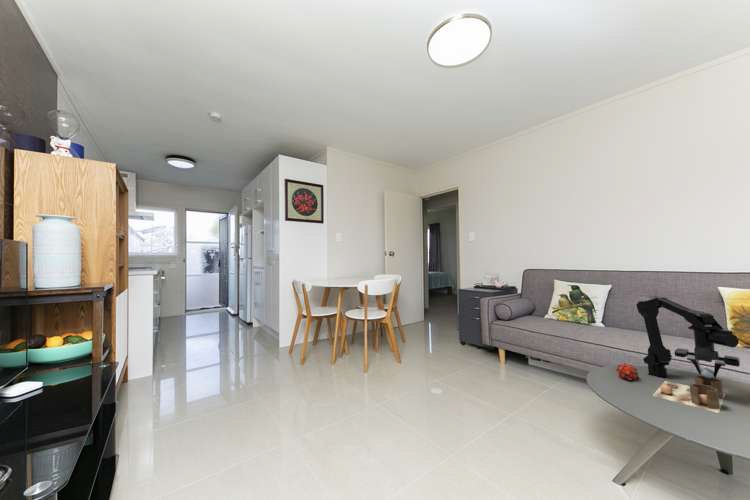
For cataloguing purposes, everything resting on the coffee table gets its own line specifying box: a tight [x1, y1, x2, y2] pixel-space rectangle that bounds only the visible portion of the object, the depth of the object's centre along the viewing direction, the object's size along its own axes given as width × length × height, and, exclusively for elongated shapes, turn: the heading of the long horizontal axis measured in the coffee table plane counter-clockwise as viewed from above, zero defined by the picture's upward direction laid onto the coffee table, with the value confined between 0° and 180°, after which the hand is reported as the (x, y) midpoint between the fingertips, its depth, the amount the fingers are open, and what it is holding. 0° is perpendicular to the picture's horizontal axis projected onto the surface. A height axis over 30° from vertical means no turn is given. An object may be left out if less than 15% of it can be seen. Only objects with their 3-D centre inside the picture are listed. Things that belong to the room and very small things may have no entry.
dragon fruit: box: [615, 362, 640, 381], centre depth 145 cm, size 8×8×12 cm
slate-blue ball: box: [700, 367, 714, 378], centre depth 125 cm, size 4×4×4 cm
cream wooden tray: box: [652, 375, 726, 414], centre depth 125 cm, size 19×26×8 cm
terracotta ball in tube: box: [699, 394, 708, 405], centre depth 117 cm, size 4×4×4 cm
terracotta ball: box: [659, 384, 673, 394], centre depth 127 cm, size 4×4×4 cm
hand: (707, 376), depth 125 cm, fingers closed on slate-blue ball, 4 cm apart
